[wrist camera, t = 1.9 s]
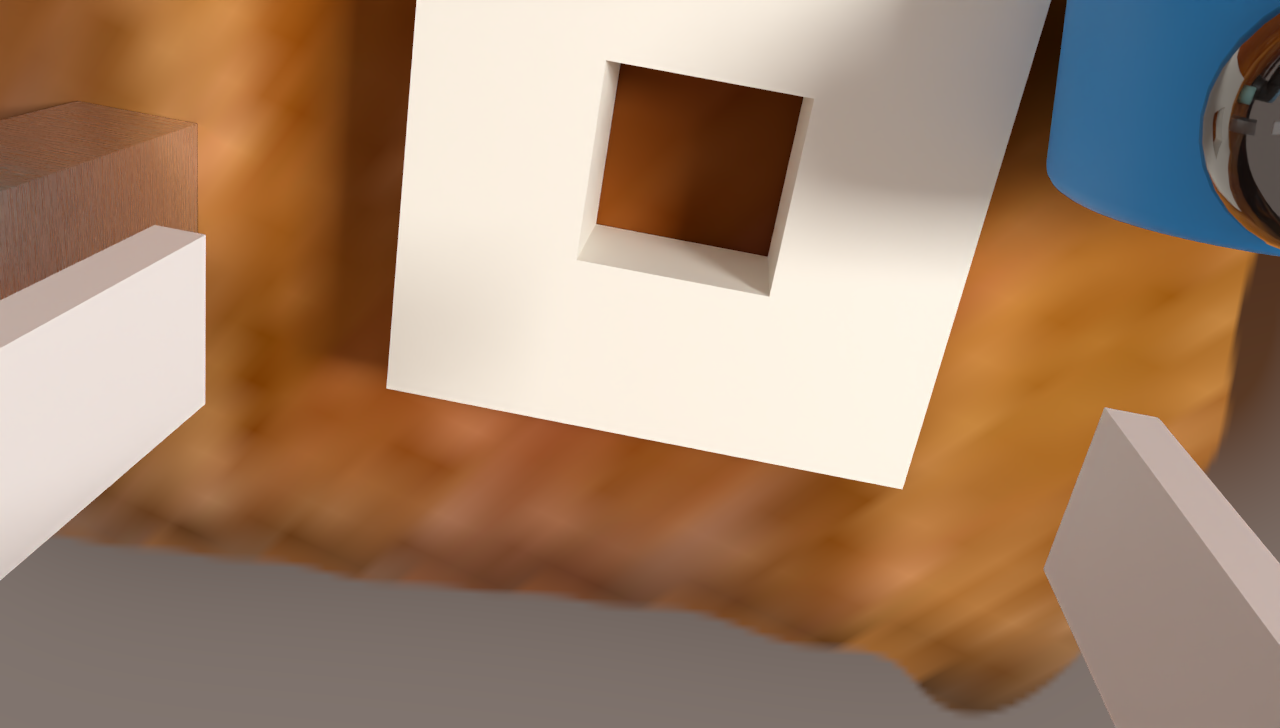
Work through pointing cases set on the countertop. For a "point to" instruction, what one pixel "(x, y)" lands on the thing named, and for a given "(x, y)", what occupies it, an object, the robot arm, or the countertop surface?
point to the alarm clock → (1172, 117)
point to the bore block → (690, 272)
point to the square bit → (88, 185)
